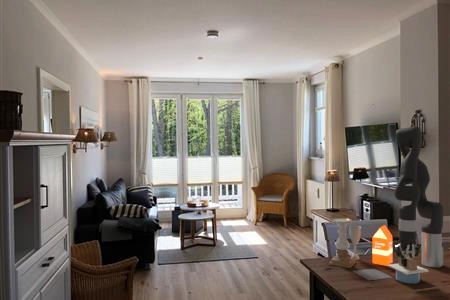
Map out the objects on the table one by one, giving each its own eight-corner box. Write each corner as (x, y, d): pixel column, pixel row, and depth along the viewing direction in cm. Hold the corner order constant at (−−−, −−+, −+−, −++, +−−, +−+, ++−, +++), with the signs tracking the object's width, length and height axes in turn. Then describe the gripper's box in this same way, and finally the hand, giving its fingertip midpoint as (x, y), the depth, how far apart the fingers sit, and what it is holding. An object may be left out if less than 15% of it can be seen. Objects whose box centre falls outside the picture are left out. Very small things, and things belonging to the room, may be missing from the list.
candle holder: (350, 269, 185) (350, 222, 185) (328, 266, 191) (328, 220, 191) (355, 263, 194) (355, 219, 194) (335, 260, 200) (335, 217, 200)
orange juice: (372, 264, 193) (372, 226, 193) (377, 260, 200) (377, 223, 199) (387, 267, 188) (387, 228, 188) (392, 263, 194) (392, 225, 194)
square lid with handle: (408, 263, 176) (408, 252, 176) (428, 271, 165) (428, 260, 165) (387, 265, 173) (387, 255, 173) (406, 274, 161) (406, 263, 161)
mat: (374, 269, 185) (374, 268, 185) (392, 278, 172) (392, 277, 172) (351, 272, 181) (351, 271, 181) (369, 282, 168) (368, 280, 168)
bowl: (408, 276, 175) (408, 266, 175) (424, 283, 166) (424, 272, 166) (391, 278, 172) (391, 268, 172) (406, 286, 163) (406, 275, 163)
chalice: (360, 262, 197) (359, 228, 197) (347, 260, 200) (347, 227, 200) (362, 258, 203) (362, 226, 203) (350, 256, 207) (350, 224, 206)
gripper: (413, 226, 174) (413, 262, 174) (388, 228, 170) (389, 265, 171) (426, 229, 167) (426, 267, 167) (400, 231, 163) (401, 270, 163)
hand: (407, 265), depth 169 cm, fingers open, 3 cm apart
